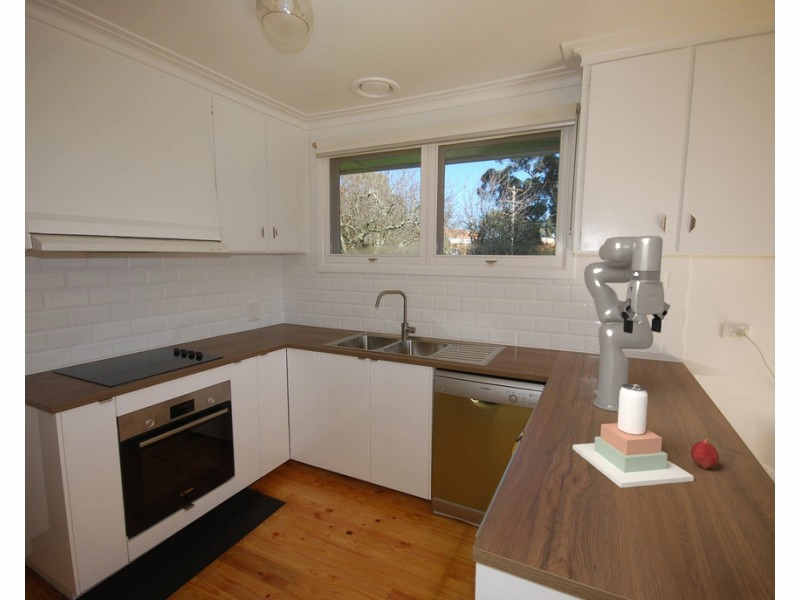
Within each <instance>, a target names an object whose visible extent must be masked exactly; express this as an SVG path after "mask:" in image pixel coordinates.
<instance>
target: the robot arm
mask: <svg viewBox="0 0 800 600" xmlns="http://www.w3.org/2000/svg"><path fill="white" fill-rule="evenodd" d="M663 245H664V242H663V238H662V237H661V236H659V235H641V236H613V237H609V238H606V239H605V241H604V243H603V244H602V245H601V246H600V247H599V250H598V257H599V258H600V259H601V260H602V261H597V262H592V263H589V264H588V265H586V266H585V268H584V273H583V275H584V276H583V277H584V284H585V286H586V289H587V291H588V292H589V294H590V296H591V297H592V299H593V302H594V307H595V310H596V315H597V318H598V321H599V322H600V323H601V325H600V326H599V327H598V333H597V334H598V341H599V343H598V344H599V365H598V366H599V367H598V368H599V369H598V381H597V382H598V385H597V388H596V389H594V390H593V393H594V394H595V395H596V397H595V398H593V399H592V404H593V406H595V407H597V408H598V409H602V410H605V411H611V412H617V413H618V411H619V394H620V389H621V388H622V385H623V384H629V383H628V382H629V381H628V380H629V367H630V366H629V365H630V364H629V359H628V357H627V355H626V354H625V353H624V352H623V351H622V350H627V349H628V350H647V349H649V348H652V347H651V346H652V345H653V343H654V335H653V333H654V332H655V333H658V334H659V333H661V332H662V322H663V321H664V320H665V317H666V315H668V311H669V310H670V308H671V305H670V304H668V303H667V302H665V290H664V289H665V288H664V283H663V281H661V273H662V272H661V271H662V258H663V257H662V256H663ZM606 283H607V284H606ZM625 283H628V285H627V290H626V295H625V300H623V301H622V300H619V298H618V294H617V292H616V291H615V290H614V289H613V288H612V287H611V286H609V285H608V284H625ZM647 315H652V317H653V318H651V324H650V321H649V319H648V316H647Z"/></svg>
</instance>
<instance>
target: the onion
mask: <svg viewBox="0 0 800 600" xmlns="http://www.w3.org/2000/svg"><path fill="white" fill-rule="evenodd" d="M690 456H691V458H692V459H693V461H694V462H695V463H696V464H697V465H698V466H700V468H702V469H704V470H706V469H708V468H711V467H713V466H715V465H716V464H718V463H719V460H720V459H719V458H720V455H719V452H718V451H717V449H716V447H715V446H714V445H712V444H711V443H710V442H709V439H703V440H701V441H699V442H698V441H697V442H696V443H694V444H693V445H692V447H691V449H690Z"/></svg>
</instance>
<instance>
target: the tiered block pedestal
mask: <svg viewBox="0 0 800 600" xmlns="http://www.w3.org/2000/svg"><path fill="white" fill-rule="evenodd" d="M662 444H663V437H661V436H659V435H657V434H656V433H655V432H652V431H651V430H649V429H647V428H646V430H645V433H644V434H643V435H631V434H627V433H624V432H622V431H620V430H619V428H618V422H615V423H602V424H601V425H600V436H594V442H591V443H580V444H572V450H573V451H575V452H576V453H577V454H579V456H580V457H582V458H583V459H585V461H587V462H588V463H589V464H590V465H592V466H593V467H595V468H596V469H597V470H599V472H600V473H602V474H603V475H604V476H606V477H607V478H608V479H609V480H611V481H612V482H613V483H614V484H616V486H618V487H619V488H621V489H622V488H633V487H642V486H643V487H644V486H655V485H663V484H664V485H665V484H672V483H673V484H676V483H685V482H694V479H695V477H694V475H693V474H691V473H689V472H688V471H686V470H685V469H683V468H681V467H679V466H678V465H676V464H675V463H673V462H671V461H670V460H668V453H666V452H665V451H663V450H662V446H663V445H662Z"/></svg>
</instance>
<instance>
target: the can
mask: <svg viewBox="0 0 800 600" xmlns="http://www.w3.org/2000/svg"><path fill="white" fill-rule="evenodd" d="M648 398H649V395H648V392H647V387H645V386H643V385H641V384H636V383H627V384H623V385H622V388H621V389H620V394H619V411H618V412H617V423H618V428H619V430H620V431H622V432H624V433H627V434H631V435H643V434H644V433H645V430H646V429H647V428H646V427H647V416H648V415H647V413H648V401H649V400H648Z"/></svg>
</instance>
